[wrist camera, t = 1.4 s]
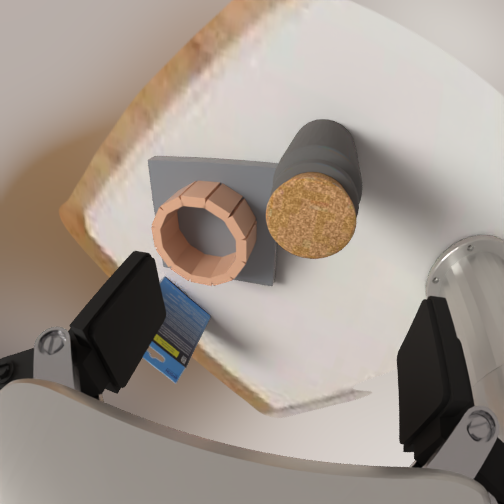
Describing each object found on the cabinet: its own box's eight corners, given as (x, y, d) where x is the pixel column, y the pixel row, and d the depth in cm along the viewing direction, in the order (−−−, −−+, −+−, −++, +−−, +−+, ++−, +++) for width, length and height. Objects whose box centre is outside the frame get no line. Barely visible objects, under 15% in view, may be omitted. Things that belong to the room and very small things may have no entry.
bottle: (283, 159, 30) (237, 236, 18) (310, 107, 26) (285, 144, 14) (336, 188, 30) (329, 284, 18) (366, 139, 26) (390, 205, 14)
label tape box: (152, 287, 44) (108, 348, 34) (166, 274, 42) (119, 338, 32) (197, 325, 46) (163, 390, 36) (213, 315, 44) (179, 384, 34)
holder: (281, 163, 30) (270, 183, 25) (275, 278, 38) (264, 309, 33) (154, 156, 33) (126, 173, 28) (168, 260, 41) (148, 286, 36)
